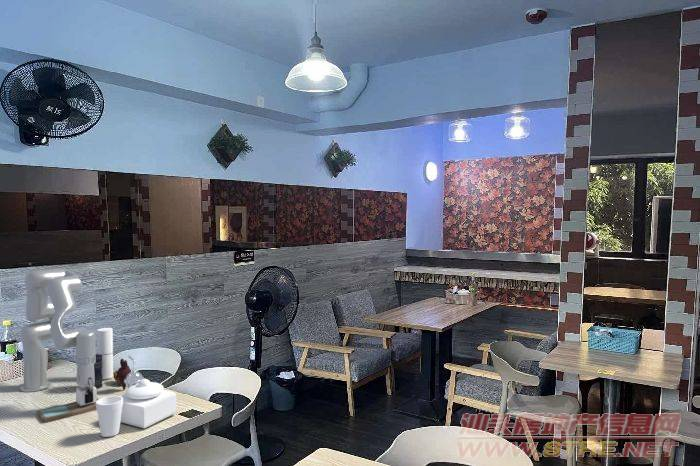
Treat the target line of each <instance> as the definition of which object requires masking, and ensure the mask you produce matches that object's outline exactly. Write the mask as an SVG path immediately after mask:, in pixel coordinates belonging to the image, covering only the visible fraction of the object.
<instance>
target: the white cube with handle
mask: <svg viewBox="0 0 700 466" xmlns="http://www.w3.org/2000/svg"><path fill="white" fill-rule="evenodd" d="M88 386H89V385H88ZM88 386H86V387H88ZM93 387H94V386H93ZM88 389H89V388H87V391H88ZM97 390H98V389H97V388H96V387H94V388H93V402H91V403H94V402H96V401H97V399H98V395H97V393H98V392H97ZM85 394H86V392H85V388H84V389H83V388H81V387H80V386H77V387H76V388H75V402H77V403H78V404H79V405H80V406H81V405H86V403H85ZM87 404H90V403H87Z"/></svg>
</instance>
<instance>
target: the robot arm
mask: <svg viewBox="0 0 700 466" xmlns="http://www.w3.org/2000/svg"><path fill="white" fill-rule="evenodd" d="M24 286H25V289H26V304H25V317H26V320H27V321H29V322H31V323H29V324H28V323H27V324H25V325H24V326H22V327H21V328H20V331H19V335H20V341H21V346H22V361H23V362H22V366H23V368H22V369H23V373H22V374H23V384H22V385H21V386H20V387H19V391H21V392H24V393H32V392H33V393H34V392H39V391H40V392H41V391H43V390H45V389H48V388H49V387H50V386H51V384H52V383H51V381H48V369H47V368H48V364H47V363H48V361H47V357H48V355H47V349H46V347H45V346H44V345H43V344H42V342H46V341H50V340H52V341H53V344H54V346H55V347H56V348H57V349H59V350H65V349H69V348H74V347H75V359H76V360H75V365H76V382H75V383H76V384H77V385H78V387H81V388H83V389H84V388H85V392H86V394H85V403H86V404H87V403H91V402H93V388H94V387H93V386H94V385H95V373H94V363H95V362H96V354H97V353H96V352H97V351H96V348H97V347H96V333H95V332H94V331H92V330H88V329H87V328H86V327H79V328H74V329H69V330H64V331H63V325H64V324H63V323H64V317H65V316H67V315H69V314H71V313H72V312H74V311H75V309H76V308H77V304H76V301H75V299H74V298H75V297H73V294H79V293H81V291H82V289H83V282H82V280H81V278H80V277H79V276H78V275H77V274H75V273H74V272H72V271H70V270H69V269H67V268H51V269H39V270H33V271H29V272H28V273H27V274H26V275H25V278H24ZM48 298H50V299H48ZM87 385H89V386H88V387H86V386H87ZM87 388H89V389H88V391H87Z"/></svg>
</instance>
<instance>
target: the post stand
mask: <svg viewBox="0 0 700 466" xmlns="http://www.w3.org/2000/svg"><path fill="white" fill-rule="evenodd" d="M98 399H99V398H97V400H98ZM94 411H97V410H96V402H94V403H90V404H86V405H81V406H80V405H79V404H78V403H77V402H76V401H73V402H69V403H63V404H60V405H57V406H52V407H48V408H45V409H40V410H36V415H37V416H38V417H39V419H40V420H41V421H42V422H43V424H48V423H51V422H52V423H53V422H55V421H59V420H62V419H66V418H71V417H74V416H78V415H82V414H86V413H89V412H94Z"/></svg>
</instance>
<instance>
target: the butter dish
mask: <svg viewBox="0 0 700 466" xmlns="http://www.w3.org/2000/svg"><path fill="white" fill-rule="evenodd" d="M164 389H165V388H164V385H162V384H161V383H159V382H154V381H150V380H149V379H147V378H144V379H142V380H141V381H139V383H138V384H136V385H133V386H131V387H130V388H128V389H127V388H126V389H125V394H123V395H120V396H121V397H123V405H122V413H121V421H120V423H122V424H127V425H130V426H133V427H137V428H141V429H146V428H147V427H151V426H152V425H155V424H157V423H158V422H161V421H163V420H164V419H166V418H168V417H170V416H173V415H174V414H177V413H178V412H177V411H178V397H177V394H178V393H176V392H174V391H170V390H166V389H165V390H164Z"/></svg>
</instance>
